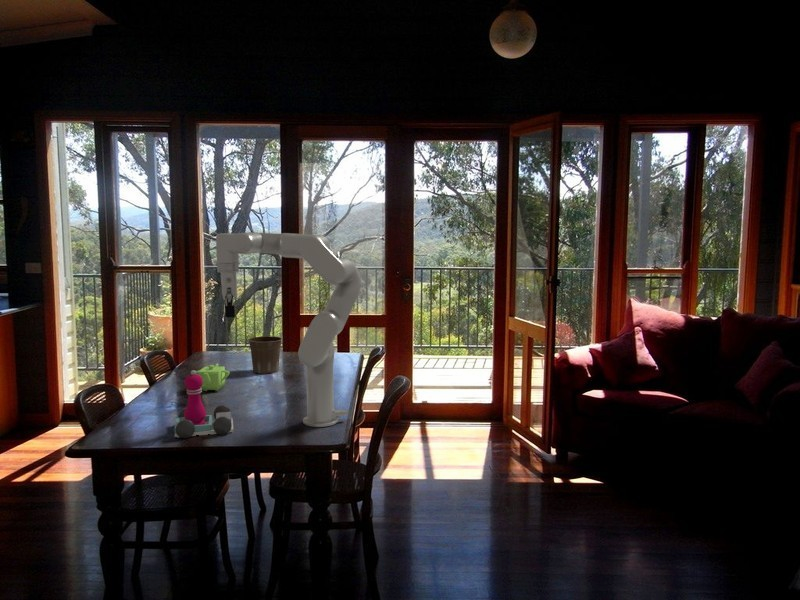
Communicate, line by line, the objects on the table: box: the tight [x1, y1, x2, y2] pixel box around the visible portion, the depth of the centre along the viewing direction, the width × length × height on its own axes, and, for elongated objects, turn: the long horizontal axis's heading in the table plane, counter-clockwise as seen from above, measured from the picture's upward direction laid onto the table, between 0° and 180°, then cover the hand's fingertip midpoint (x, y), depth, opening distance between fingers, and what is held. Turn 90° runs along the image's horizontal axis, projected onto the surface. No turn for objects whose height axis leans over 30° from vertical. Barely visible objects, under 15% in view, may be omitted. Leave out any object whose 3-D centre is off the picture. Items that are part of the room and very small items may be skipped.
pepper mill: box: [184, 369, 207, 425], centre depth 217 cm, size 7×7×20 cm
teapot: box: [195, 363, 231, 392], centre depth 273 cm, size 15×13×11 cm
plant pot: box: [247, 335, 283, 375], centre depth 306 cm, size 16×16×16 cm
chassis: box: [174, 404, 234, 439], centre depth 219 cm, size 19×16×6 cm
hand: (229, 315), depth 227 cm, fingers open, 9 cm apart
